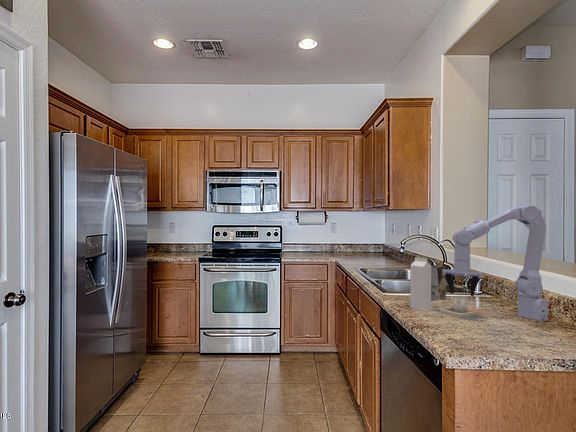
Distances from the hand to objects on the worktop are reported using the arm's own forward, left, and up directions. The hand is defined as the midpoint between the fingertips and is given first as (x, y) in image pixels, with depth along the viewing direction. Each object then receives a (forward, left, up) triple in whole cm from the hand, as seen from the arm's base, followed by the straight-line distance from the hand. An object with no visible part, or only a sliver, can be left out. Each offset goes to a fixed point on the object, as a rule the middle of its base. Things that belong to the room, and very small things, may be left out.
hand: (462, 294), depth 155 cm
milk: (+13, +9, -8) cm, 18 cm away
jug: (+1, 0, -7) cm, 7 cm away
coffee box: (+25, -14, -9) cm, 30 cm away
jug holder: (0, -2, -8) cm, 9 cm away
